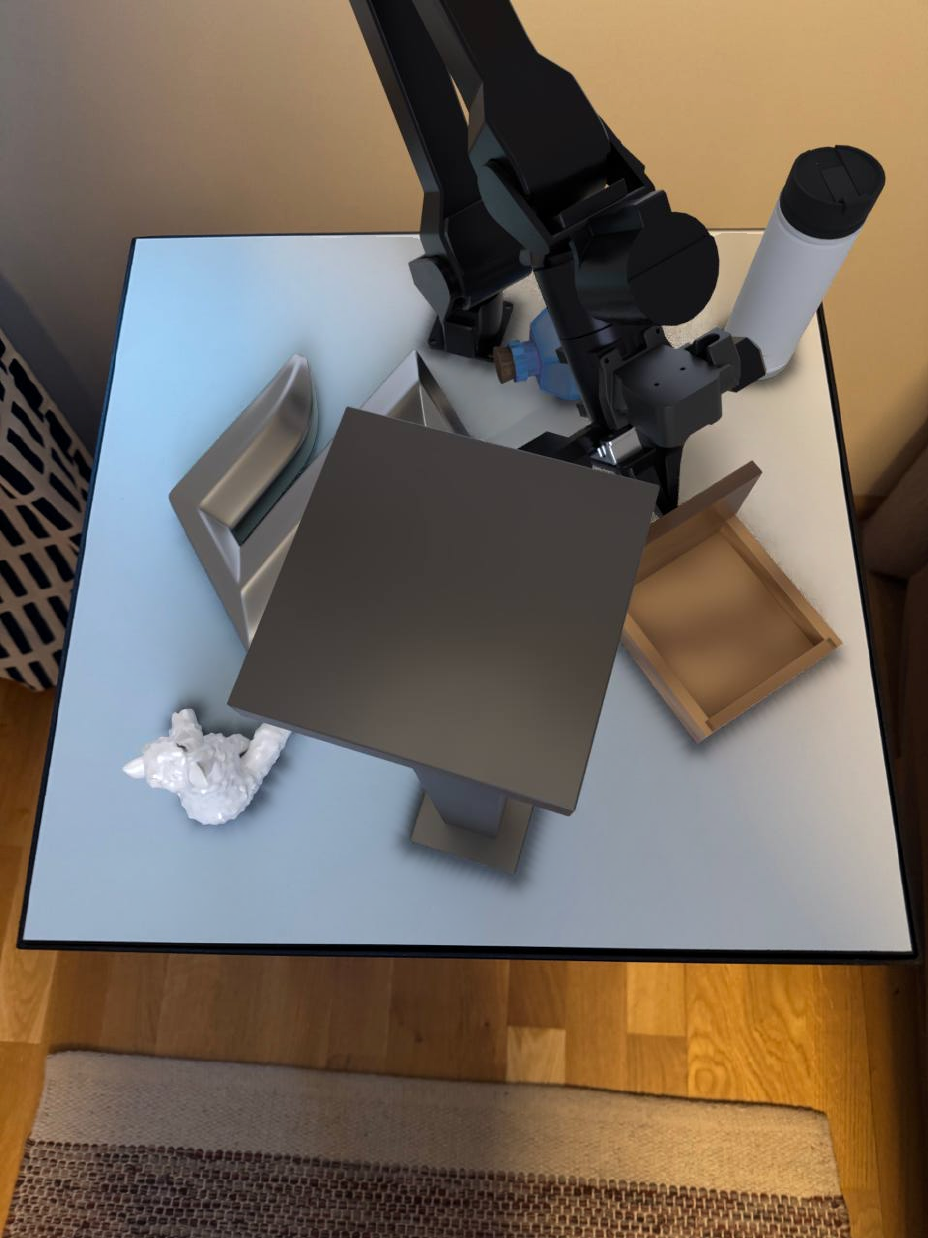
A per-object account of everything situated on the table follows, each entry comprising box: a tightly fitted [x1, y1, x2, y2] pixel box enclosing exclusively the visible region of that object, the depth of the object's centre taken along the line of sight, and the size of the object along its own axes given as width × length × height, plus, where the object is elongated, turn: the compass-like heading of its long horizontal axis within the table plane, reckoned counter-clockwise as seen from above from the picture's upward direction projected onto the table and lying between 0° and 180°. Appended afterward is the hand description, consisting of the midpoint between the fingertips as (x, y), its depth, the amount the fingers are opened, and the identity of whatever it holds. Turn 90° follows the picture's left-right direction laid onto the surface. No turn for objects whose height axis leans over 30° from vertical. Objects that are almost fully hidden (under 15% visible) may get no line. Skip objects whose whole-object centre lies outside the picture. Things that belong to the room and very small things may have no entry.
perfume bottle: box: [492, 306, 582, 402], centre depth 72 cm, size 6×6×12 cm
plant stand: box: [226, 405, 660, 876], centre depth 41 cm, size 8×8×46 cm
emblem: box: [168, 349, 472, 653], centre depth 68 cm, size 28×5×28 cm
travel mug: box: [723, 144, 887, 381], centre depth 65 cm, size 6×7×20 cm
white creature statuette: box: [122, 708, 293, 826], centre depth 59 cm, size 10×9×12 cm
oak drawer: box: [620, 459, 844, 744], centre depth 62 cm, size 14×13×10 cm
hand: (669, 519), depth 62 cm, fingers closed, pressing on oak drawer
